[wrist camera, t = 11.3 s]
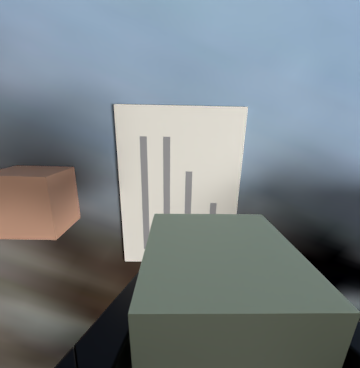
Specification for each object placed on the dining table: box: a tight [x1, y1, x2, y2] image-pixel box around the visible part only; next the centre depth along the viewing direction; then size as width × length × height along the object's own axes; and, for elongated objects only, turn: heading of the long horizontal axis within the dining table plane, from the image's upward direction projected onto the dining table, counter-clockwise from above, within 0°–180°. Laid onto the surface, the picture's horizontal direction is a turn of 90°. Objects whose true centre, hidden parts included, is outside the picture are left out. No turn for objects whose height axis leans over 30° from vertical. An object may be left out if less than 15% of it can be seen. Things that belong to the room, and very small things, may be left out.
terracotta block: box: [0, 165, 80, 240], centre depth 16 cm, size 5×5×4 cm
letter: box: [114, 104, 248, 261], centre depth 18 cm, size 15×11×1 cm
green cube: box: [128, 214, 360, 368], centre depth 6 cm, size 4×4×4 cm
